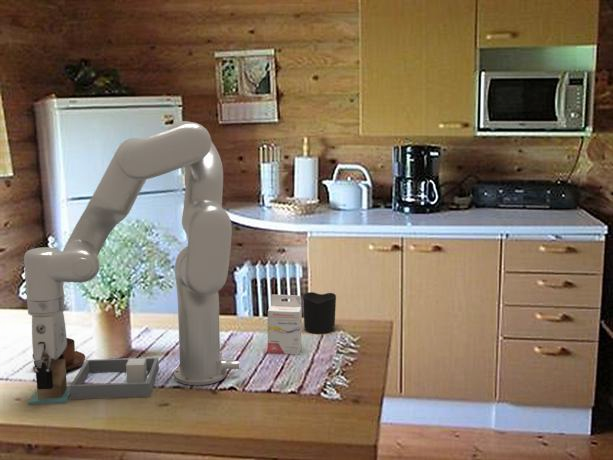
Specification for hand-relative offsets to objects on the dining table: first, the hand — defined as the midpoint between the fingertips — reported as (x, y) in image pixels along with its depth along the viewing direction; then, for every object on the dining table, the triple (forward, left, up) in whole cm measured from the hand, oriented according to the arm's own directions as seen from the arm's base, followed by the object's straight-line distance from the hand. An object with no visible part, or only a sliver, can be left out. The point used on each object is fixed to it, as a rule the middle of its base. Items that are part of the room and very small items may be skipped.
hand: (51, 379), depth 153 cm
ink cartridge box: (-53, -24, -4) cm, 58 cm away
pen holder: (-64, -41, -4) cm, 76 cm away
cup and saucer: (+3, -18, -4) cm, 19 cm away
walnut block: (0, 0, -3) cm, 3 cm away
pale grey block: (-18, -6, -4) cm, 19 cm away
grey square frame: (-13, -6, -4) cm, 15 cm away
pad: (0, 0, -4) cm, 4 cm away
